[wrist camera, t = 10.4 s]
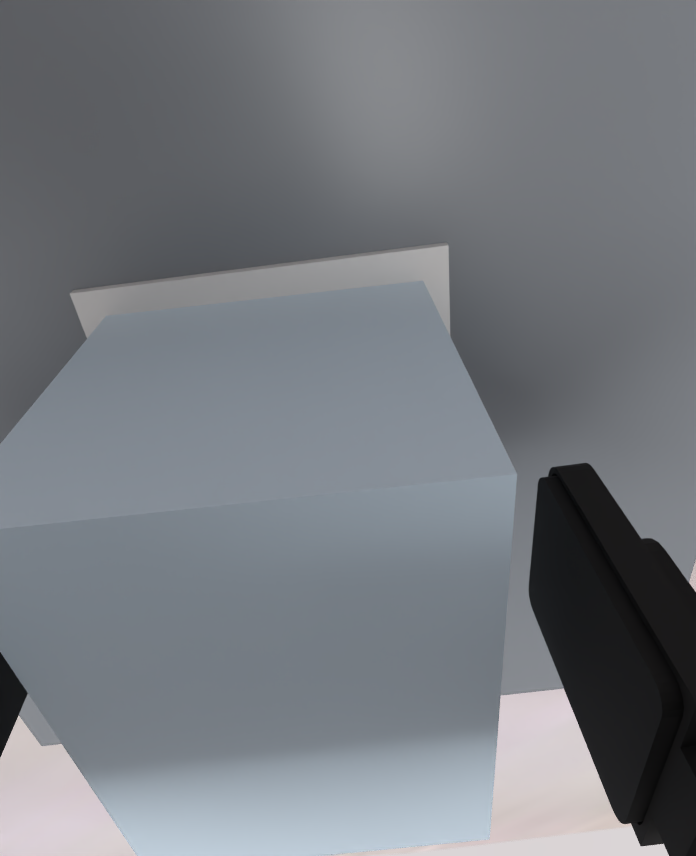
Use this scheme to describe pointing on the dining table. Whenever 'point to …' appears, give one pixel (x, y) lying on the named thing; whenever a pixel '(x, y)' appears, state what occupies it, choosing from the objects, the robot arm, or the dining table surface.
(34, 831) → the dining table surface
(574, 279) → the baseplate
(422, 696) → the blue brick
